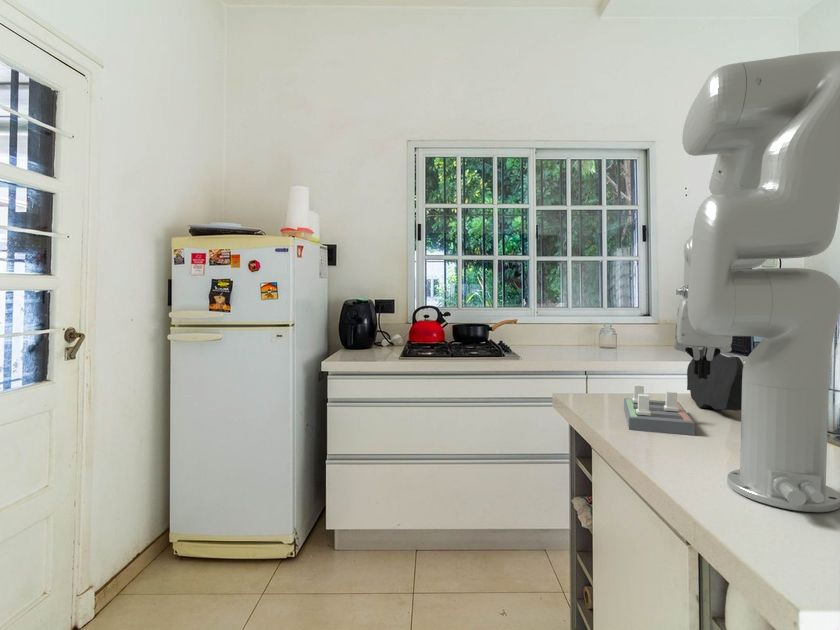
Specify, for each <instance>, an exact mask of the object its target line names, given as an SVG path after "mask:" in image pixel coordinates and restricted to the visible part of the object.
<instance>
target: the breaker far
mask: <svg viewBox="0 0 840 630" xmlns="http://www.w3.org/2000/svg"><path fill="white" fill-rule="evenodd" d="M638 394H645V385H644V384H638V383H637V384H636V383H635V384H633V397H632V398H631V399H632V401H633V403H638Z"/></svg>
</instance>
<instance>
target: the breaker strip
mask: <svg viewBox="0 0 840 630" xmlns="http://www.w3.org/2000/svg"><path fill="white" fill-rule="evenodd" d="M664 405H665V400H655V399H649V410H650V412H651V416H650V415H637V413H636V409H638V403H633V401H632V398H628V397H627V398H625V397H624V398H623V410H624V413H625V418H626V423H627V428H628V430H630V431H640V432H641V431H642V432H653V433H664V434H674V435H675V434H676V435H686V436H695V430H696V429H695V428H696V423H695V421H694V420H693V418H692V417H691V416H690V415H689V413H688V412H687V411H686V410H685V408H684V407H683V406H682V404H681V403H680V401H677V407H678V409H679V411H666V410H665V409H664Z"/></svg>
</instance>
